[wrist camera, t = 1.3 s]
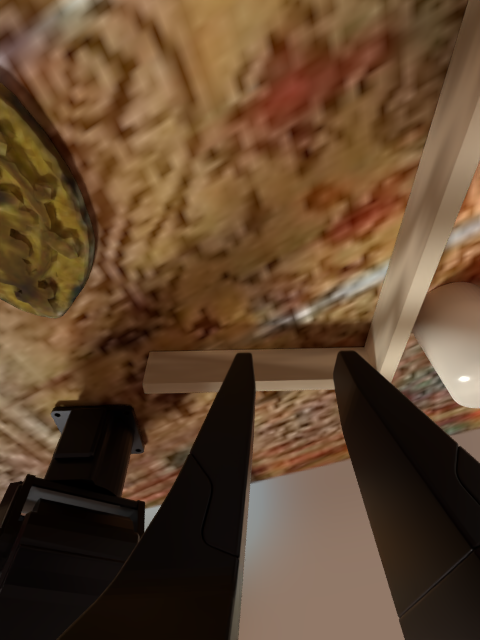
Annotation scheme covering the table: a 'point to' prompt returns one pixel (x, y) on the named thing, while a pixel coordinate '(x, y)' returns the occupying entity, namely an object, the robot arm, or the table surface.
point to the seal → (39, 218)
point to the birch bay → (406, 262)
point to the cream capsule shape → (453, 338)
